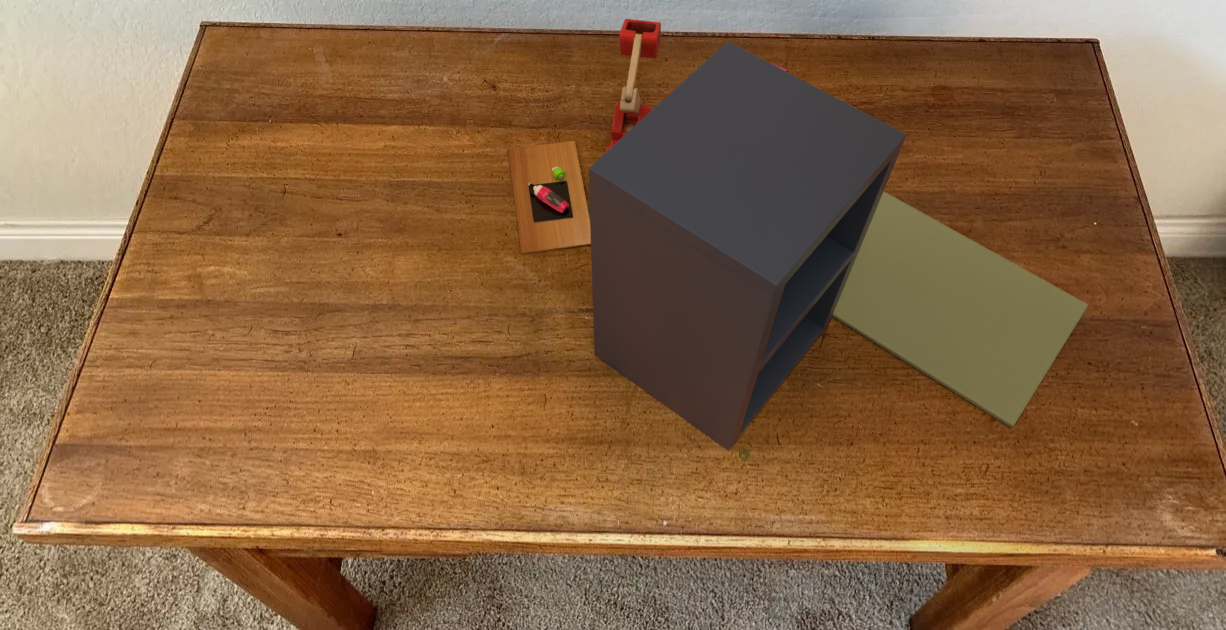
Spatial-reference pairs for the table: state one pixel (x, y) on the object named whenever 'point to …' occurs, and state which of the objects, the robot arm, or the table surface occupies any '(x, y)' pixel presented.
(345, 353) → the table surface
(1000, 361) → the play mat
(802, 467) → the table surface
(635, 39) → the toy fire truck
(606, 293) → the shelf
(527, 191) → the board
